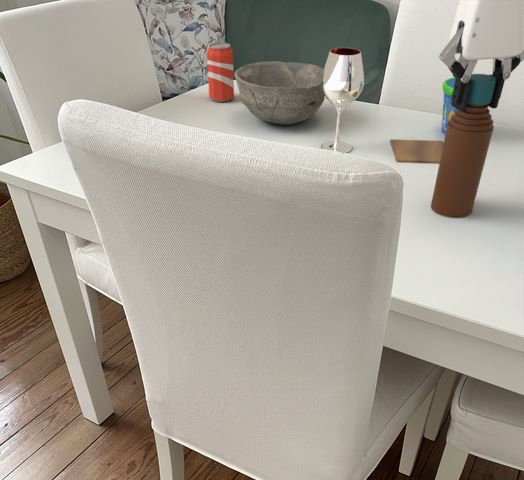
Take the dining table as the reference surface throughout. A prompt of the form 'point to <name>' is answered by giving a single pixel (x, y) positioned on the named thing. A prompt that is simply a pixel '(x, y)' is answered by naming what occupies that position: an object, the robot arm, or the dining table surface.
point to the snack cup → (448, 103)
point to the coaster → (417, 150)
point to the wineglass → (342, 87)
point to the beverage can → (220, 72)
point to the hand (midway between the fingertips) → (474, 105)
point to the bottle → (462, 161)
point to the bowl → (281, 90)
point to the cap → (481, 89)
